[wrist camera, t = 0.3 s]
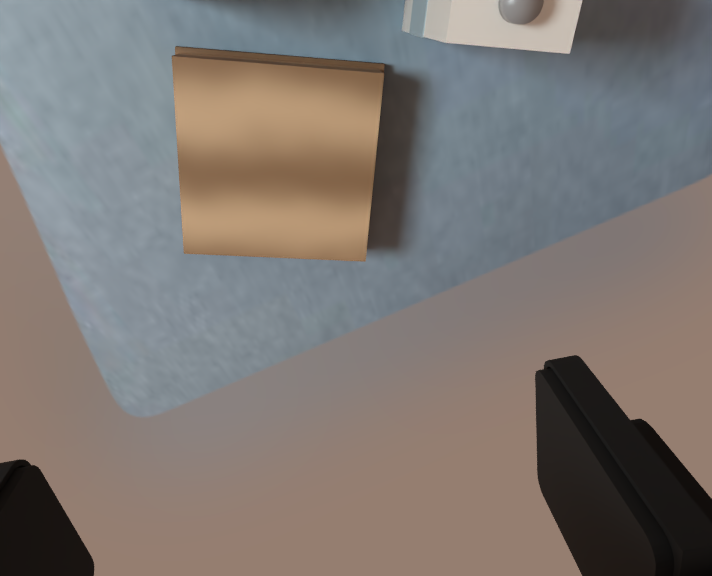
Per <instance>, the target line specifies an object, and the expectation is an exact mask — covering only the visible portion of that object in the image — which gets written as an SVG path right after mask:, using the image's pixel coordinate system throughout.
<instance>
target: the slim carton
mask: <svg viewBox="0 0 712 576" xmlns="http://www.w3.org/2000/svg"><path fill="white" fill-rule="evenodd" d="M581 4H582V0H405V7H404V17H403V26H402V31H404V32H408V33H409V34H411V35H415V36H418V37H422V38H430V39H434V40H438V41H441V42H445V43H454V44H466V45H477V46H488V47H499V48H510V49H522V50H533V51H544V52H555V53H567V54H570V50H571V46H572V42H573V38H574V34H575V29H576V25H577V21H578V17H579V13H580V8H581Z"/></svg>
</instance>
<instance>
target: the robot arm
mask: <svg viewBox="0 0 712 576" xmlns="http://www.w3.org/2000/svg"><path fill="white" fill-rule="evenodd" d="M535 382H536V425H537V426H536V427H537V471H538V481H539V485H540V488H541V491H542V494H543V496H544V498H545V500H546V502H547V504H548V506H549V508H550V511H551V513H552V515H553V517H554V519H555V521H556V523H557V525H558V527H559V529H560V531H561V533H562V535H563V537H564V539H565V541H566V543H567V545H568V547H569V549H570V551H571V553H572V555H573V557H574V559H575V562H576V563H577V566H578V568H579V570H580V572H581V574H582V576H712V499H711V498H710V497H709V496H708V494H707V493H706V492H705V491H704V489H703V488H702V487H701V486H700V485H699V483H698V482H697V481H696V480H695V478H694V477H693V476H692V475H691V474H690V472H689V471H688V470H687V469H686V468H685V466H684V465H683V464H682V463H681V462H680V460H679V459H678V458H677V457H676V456H675V454H674V453H673V452H672V451H671V450H670V448H669V447H668V446H667V445H666V444H665V442H664V441H663V440H662V439H661V438H660V436H659V435H658V434H657V433H656V431H655V430H654V429H653V428H652V427H651V426H650V425H649V424H648V423H647V422H646V421H644V420H642V419H635V420H630V419H629V418H628V417H627V416H626V414H625V413H624V412H623V411H622V409H621V408H620V407H619V406H618V404H617V403H616V402H615V400H614V399H613V398H612V397H611V395H610V394H609V393H608V392H607V391H606V389H605V388H604V387H603V385H602V384H601V383H600V382H599V380H598V379H597V378H596V376H595V375H594V374H593V373H592V372H591V370H590V369H589V368H588V366H587V365H586V364H585V363H584V361H583V360H582V359H581V358H580V357H579V356H576V355H574V356H569V357H564V358H558V359H553V360H548V361H546V362H545V365H544V369H543V370H538V371H536V375H535ZM0 576H94V562H93V559H92V557H91V555H90V554H89V552H88V550H87V548H86V547H85V545H84V543H83V542H82V540H81V538H80V536H79V535H78V533H77V531H76V530H75V528H74V526H73V525H72V523H71V521H70V520H69V518H68V516H67V515H66V513H65V511H64V510H63V508H62V506H61V504H60V503H59V501H58V499H57V498H56V496H55V494H54V492H53V491H52V489H51V487H50V486H49V484H48V482H47V481H46V479H45V477H44V475H43V474H42V472H41V470H40V469H39V468H38V467H37V466H35V465H30V463H29V462H28V461H26V460H15V461H9V462H4V463H0Z"/></svg>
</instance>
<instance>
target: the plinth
mask: <svg viewBox="0 0 712 576" xmlns="http://www.w3.org/2000/svg"><path fill="white" fill-rule="evenodd" d="M172 66H173V83H174V99H175V115H176V132H177V148H178V164H179V181H180V197H181V213H182V230H183V246H184V254H206V255H229V256H252V257H275V258H298V259H321V260H344V261H365V260H366V250H367V240H368V230H369V220H370V210H371V200H372V190H373V181H374V171H375V161H376V151H377V141H378V131H379V121H380V111H381V101H382V91H383V81H384V66H385V64H382V63H370V62H359V61H347V60H335V59H323V58H311V57H299V56H287V55H275V54H263V53H251V52H239V51H227V50H215V49H203V48H191V47H179V46H176V47H175V55H174V56H172Z"/></svg>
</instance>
